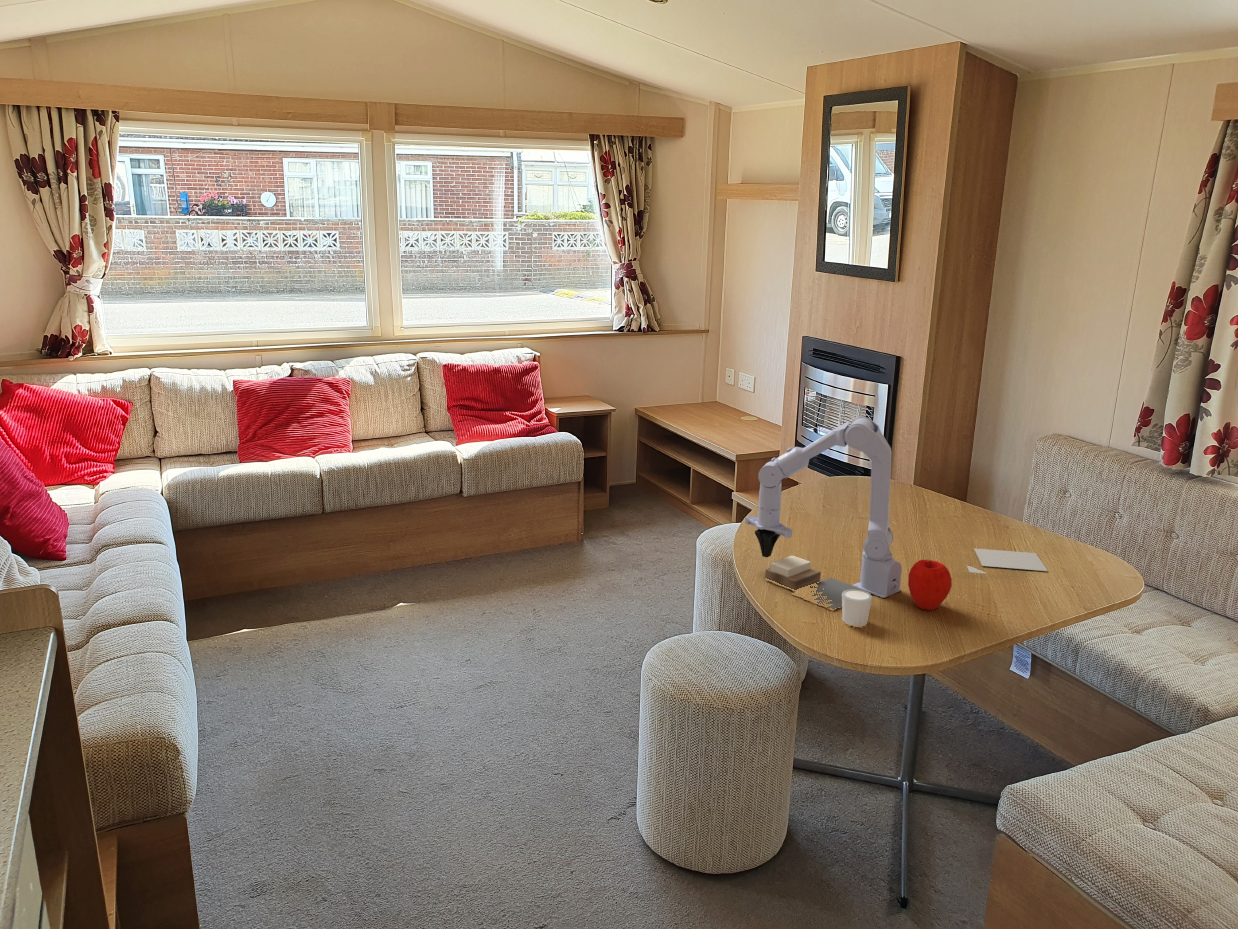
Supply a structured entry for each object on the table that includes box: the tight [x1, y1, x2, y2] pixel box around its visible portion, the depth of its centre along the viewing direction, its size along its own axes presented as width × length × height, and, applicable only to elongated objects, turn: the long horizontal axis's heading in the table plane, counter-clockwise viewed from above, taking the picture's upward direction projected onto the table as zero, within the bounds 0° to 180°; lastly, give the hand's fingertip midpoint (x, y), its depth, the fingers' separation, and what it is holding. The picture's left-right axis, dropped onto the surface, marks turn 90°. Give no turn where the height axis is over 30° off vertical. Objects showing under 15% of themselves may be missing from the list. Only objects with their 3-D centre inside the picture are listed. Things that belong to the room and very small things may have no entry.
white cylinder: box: [841, 589, 873, 626], centre depth 211 cm, size 7×7×7 cm
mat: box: [810, 577, 873, 609], centre depth 227 cm, size 13×16×1 cm
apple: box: [907, 559, 953, 611], centre depth 219 cm, size 10×10×12 cm
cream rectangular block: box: [769, 555, 812, 577], centre depth 235 cm, size 6×9×2 cm, turn 130°
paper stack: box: [966, 547, 1048, 574], centre depth 248 cm, size 23×25×1 cm
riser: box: [764, 567, 822, 590], centre depth 235 cm, size 10×10×3 cm
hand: (766, 556), depth 241 cm, fingers closed
